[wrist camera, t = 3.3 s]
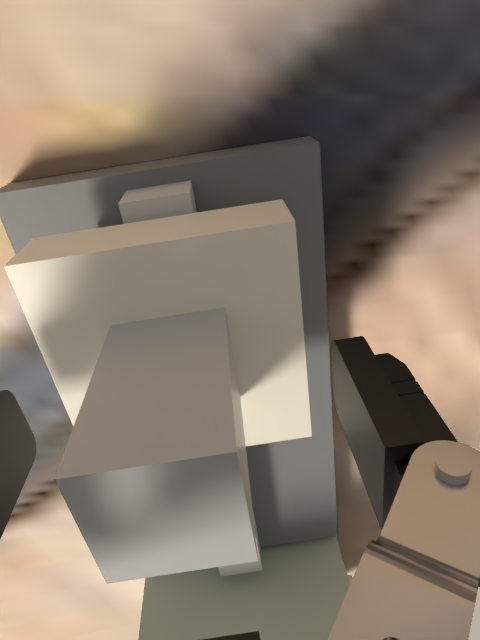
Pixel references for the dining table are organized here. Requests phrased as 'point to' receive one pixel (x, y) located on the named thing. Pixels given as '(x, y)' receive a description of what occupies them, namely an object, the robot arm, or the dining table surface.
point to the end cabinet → (252, 597)
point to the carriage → (169, 377)
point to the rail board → (307, 210)
